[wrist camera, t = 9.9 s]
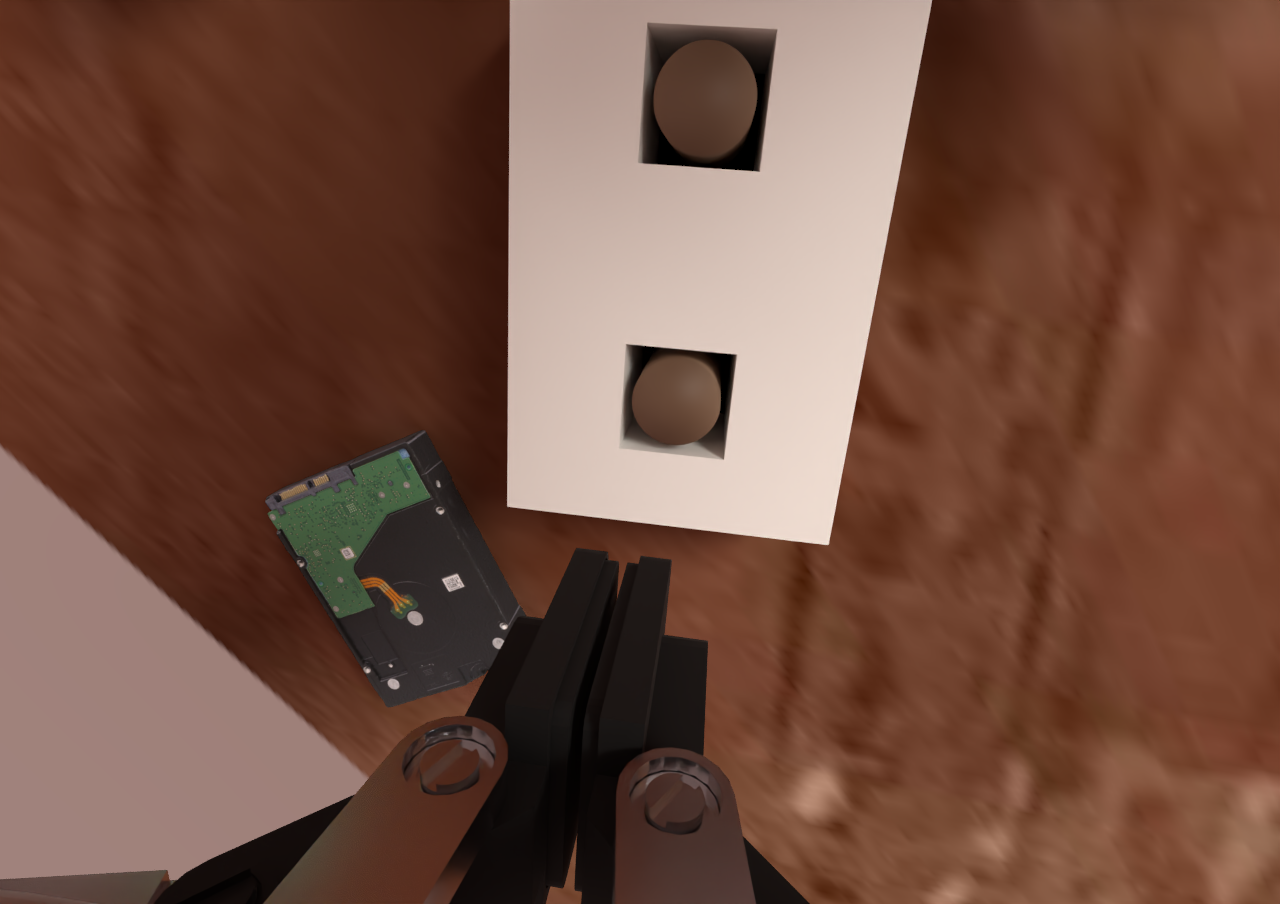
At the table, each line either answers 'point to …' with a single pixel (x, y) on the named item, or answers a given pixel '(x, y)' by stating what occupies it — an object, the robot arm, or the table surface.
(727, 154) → the dowel
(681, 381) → the dowel
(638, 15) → the collar block
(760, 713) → the table surface
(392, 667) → the disk drive
